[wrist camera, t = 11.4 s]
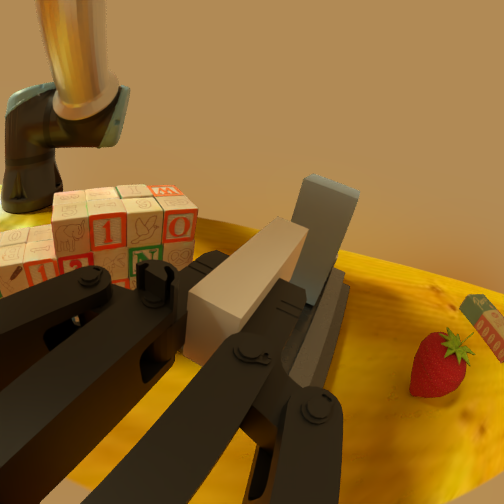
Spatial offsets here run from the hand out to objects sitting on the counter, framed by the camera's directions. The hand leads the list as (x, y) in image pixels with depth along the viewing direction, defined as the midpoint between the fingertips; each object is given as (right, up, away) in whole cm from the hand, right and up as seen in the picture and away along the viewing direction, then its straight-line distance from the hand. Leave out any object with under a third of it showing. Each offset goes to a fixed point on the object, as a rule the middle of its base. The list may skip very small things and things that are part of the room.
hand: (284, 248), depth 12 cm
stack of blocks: (-19, -7, +11) cm, 23 cm away
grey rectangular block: (+4, -5, +23) cm, 24 cm away
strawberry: (+16, -16, +11) cm, 25 cm away
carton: (+45, -16, +24) cm, 53 cm away
